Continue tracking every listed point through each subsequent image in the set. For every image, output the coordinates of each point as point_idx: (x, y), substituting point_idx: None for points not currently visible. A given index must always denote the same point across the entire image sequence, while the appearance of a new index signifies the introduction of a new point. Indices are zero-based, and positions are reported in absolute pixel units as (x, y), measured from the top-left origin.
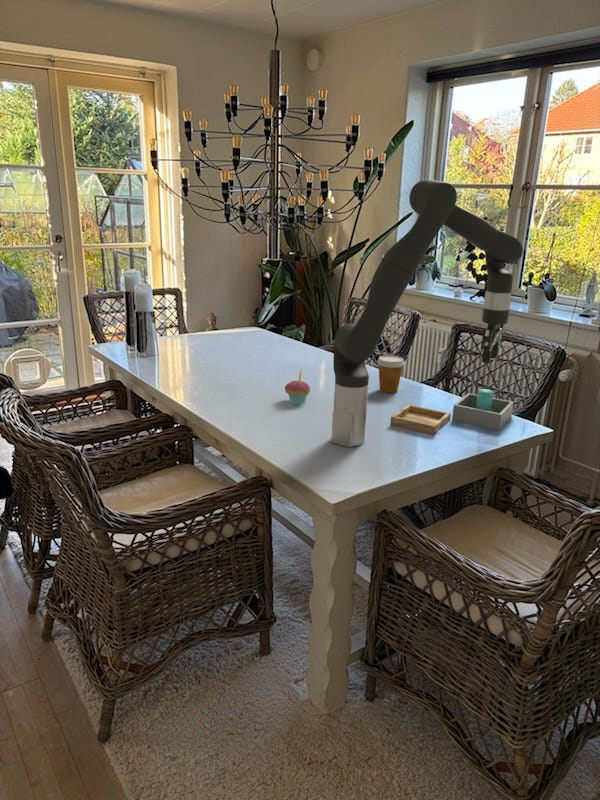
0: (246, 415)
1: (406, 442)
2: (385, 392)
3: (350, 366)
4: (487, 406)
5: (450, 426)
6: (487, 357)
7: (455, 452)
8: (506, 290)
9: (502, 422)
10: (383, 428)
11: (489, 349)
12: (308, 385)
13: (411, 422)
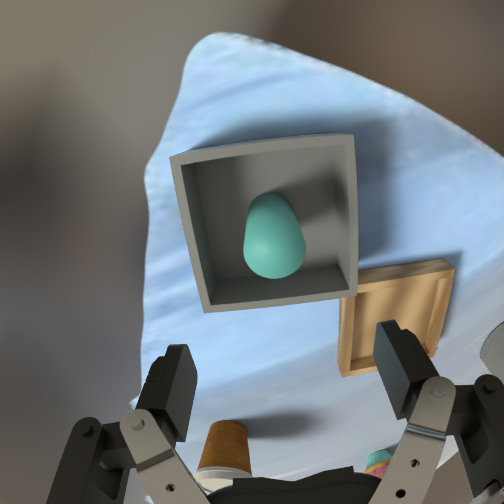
0: (447, 441)
1: (486, 279)
2: (245, 429)
3: None
4: (289, 210)
5: (367, 258)
6: (421, 349)
7: (493, 184)
8: None
9: (311, 135)
10: (441, 342)
11: (487, 379)
12: (376, 472)
13: (443, 317)
